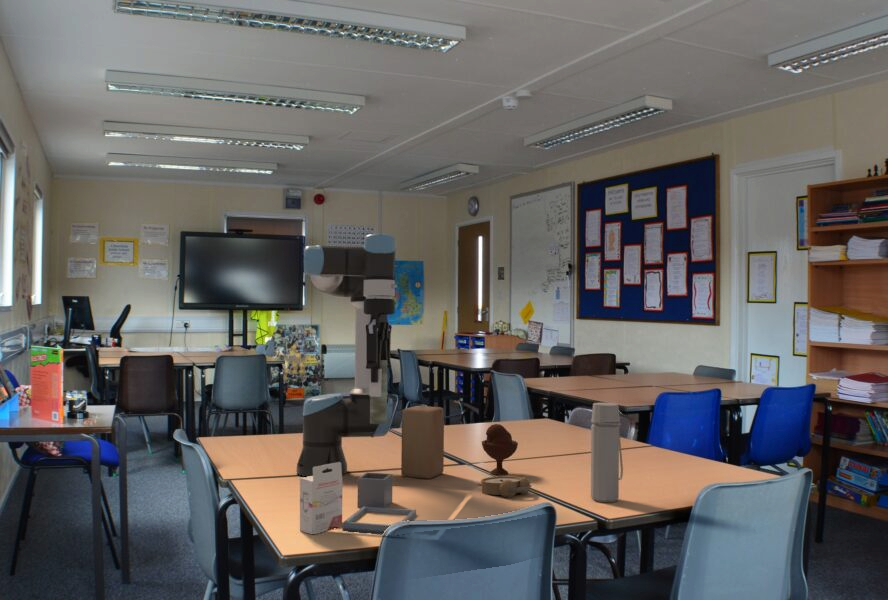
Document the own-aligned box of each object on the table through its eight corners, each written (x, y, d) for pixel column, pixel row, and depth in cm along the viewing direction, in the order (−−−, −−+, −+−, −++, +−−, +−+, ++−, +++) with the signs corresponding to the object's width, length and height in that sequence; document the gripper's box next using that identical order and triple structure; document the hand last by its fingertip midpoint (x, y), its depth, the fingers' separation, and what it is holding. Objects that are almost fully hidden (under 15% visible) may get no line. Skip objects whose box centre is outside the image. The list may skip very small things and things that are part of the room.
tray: (342, 531, 162) (342, 522, 162) (363, 514, 175) (363, 506, 175) (399, 536, 159) (399, 526, 159) (416, 518, 173) (416, 510, 173)
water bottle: (601, 504, 187) (602, 406, 187) (584, 497, 194) (584, 402, 195) (631, 501, 191) (631, 404, 191) (612, 494, 198) (613, 401, 198)
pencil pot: (357, 511, 178) (357, 478, 179) (366, 504, 185) (366, 472, 185) (384, 513, 177) (384, 479, 177) (392, 506, 184) (392, 473, 184)
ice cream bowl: (516, 478, 216) (516, 427, 217) (478, 476, 219) (479, 425, 219) (519, 470, 227) (519, 422, 227) (483, 468, 229) (484, 420, 229)
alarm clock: (501, 474, 208) (539, 474, 197) (503, 492, 208) (542, 493, 196) (471, 480, 201) (509, 480, 190) (473, 498, 200) (512, 499, 189)
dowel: (367, 423, 175) (368, 360, 175) (372, 421, 179) (373, 359, 179) (383, 424, 174) (384, 360, 174) (388, 422, 178) (389, 360, 178)
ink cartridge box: (328, 523, 168) (329, 458, 169) (342, 527, 165) (343, 461, 165) (298, 530, 162) (299, 463, 162) (312, 535, 159) (313, 467, 159)
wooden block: (444, 473, 222) (445, 407, 222) (430, 480, 213) (430, 410, 213) (415, 470, 226) (416, 405, 227) (399, 476, 217) (400, 408, 218)
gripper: (383, 296, 168) (382, 399, 167) (403, 299, 185) (402, 392, 184) (352, 296, 170) (351, 398, 169) (375, 299, 186) (374, 392, 186)
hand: (378, 395), depth 176 cm, fingers closed on dowel, 4 cm apart
